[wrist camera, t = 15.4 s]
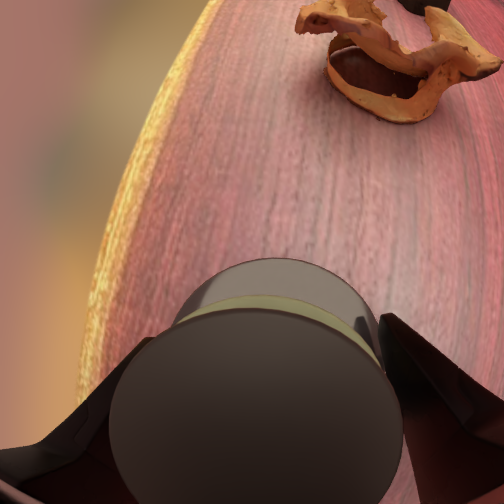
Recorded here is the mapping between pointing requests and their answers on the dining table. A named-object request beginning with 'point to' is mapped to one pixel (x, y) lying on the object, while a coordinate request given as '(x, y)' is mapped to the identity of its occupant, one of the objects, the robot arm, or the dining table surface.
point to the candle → (424, 5)
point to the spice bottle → (256, 410)
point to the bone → (398, 55)
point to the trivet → (290, 292)
